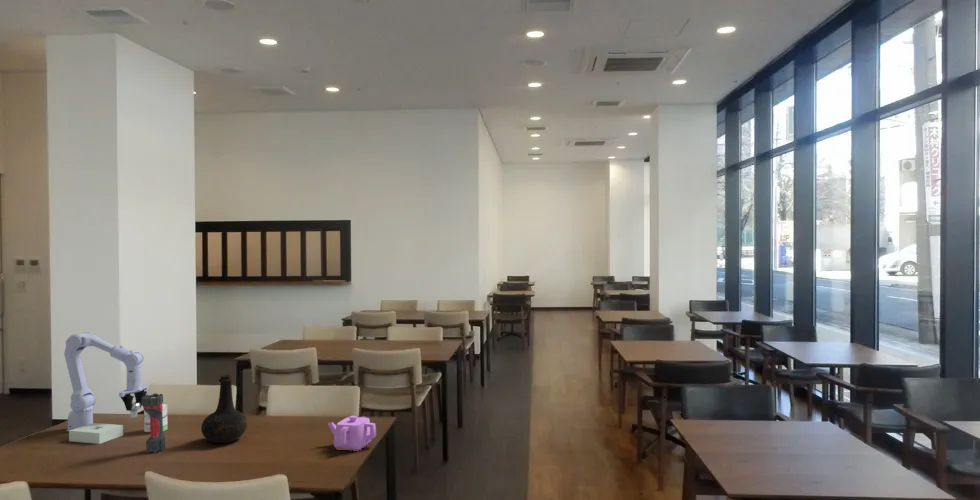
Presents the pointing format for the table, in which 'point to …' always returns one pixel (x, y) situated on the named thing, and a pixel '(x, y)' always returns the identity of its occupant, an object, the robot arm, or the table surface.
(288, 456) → the table surface
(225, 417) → the glass bottle
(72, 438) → the pin block
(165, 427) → the ink box
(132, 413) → the steel pin
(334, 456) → the table surface
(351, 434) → the teakettle
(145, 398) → the flashlight
